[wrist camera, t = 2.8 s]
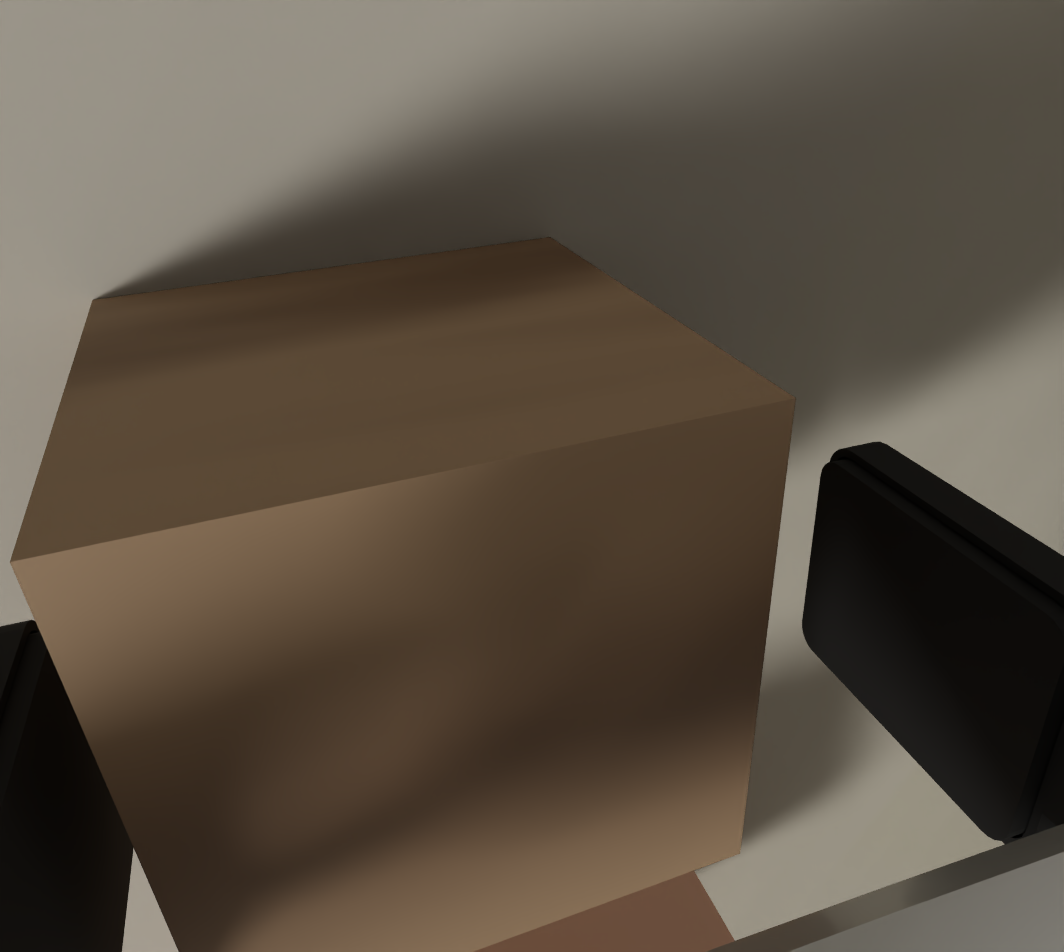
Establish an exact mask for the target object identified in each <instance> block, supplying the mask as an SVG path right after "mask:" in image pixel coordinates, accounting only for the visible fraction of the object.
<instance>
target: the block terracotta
mask: <svg viewBox="0 0 1064 952" xmlns="http://www.w3.org/2000/svg"><path fill="white" fill-rule="evenodd" d="M734 941H735V940H734V939H733V937H732V935H731V934H730V932H729V930H728V928H727V927H726V925H725V923H724V922H723V920H722V918H721V916H720V915H719V913H718V911H717V910H716V908H715V906H714V904H713V903H712V901H711V899H710V897H709V896H708V894H707V892H706V891H705V889H704V887H703V885H702V884H701V882H700V880H699V879H698V877H697V875H696V873H695V872H694V871H691V872H688V873H685V874H683V875H680V876H677V877H675V878H672V879H669V880H666V881H664V882H661V883H658V884H656V885H653V886H650V887H647V888H645V889H642V890H639V891H637V892H634V893H631V894H628V895H626V896H623V897H620V898H618V899H615V900H612V901H609V902H607V903H604V904H601V905H599V906H596V907H593V908H590V909H588V910H585V911H582V912H579V913H577V914H574V915H571V916H569V917H566V918H563V919H560V920H558V921H555V922H552V923H550V924H547V925H544V926H541V927H539V928H536V929H533V930H531V931H528V932H525V933H522V934H520V935H517V936H514V937H512V938H509V939H506V940H503V941H501V942H498V943H495V944H493V945H490V946H487V947H484V948H482V949H479V950H476V951H474V952H706V951H709V950H712V949H714V948H717V947H720V946H723V945H725V944H728V943H731V942H734Z"/></svg>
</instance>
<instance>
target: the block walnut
mask: <svg viewBox="0 0 1064 952" xmlns="http://www.w3.org/2000/svg"><path fill="white" fill-rule="evenodd" d="M795 400H796V398H795V397H793V396H792V395H790V394H789V393H787V392H786V391H784V390H783V389H781V388H779V387H778V386H776V385H775V384H773V383H772V382H770V381H769V380H767V379H766V378H764V377H763V376H761V375H760V374H758V373H757V372H755V371H754V370H752V369H750V368H749V367H747V366H746V365H744V364H743V363H741V362H740V361H738V360H737V359H735V358H734V357H732V356H731V355H729V354H728V353H726V352H725V351H723V350H721V349H720V348H718V347H717V346H715V345H714V344H712V343H711V342H709V341H708V340H706V339H705V338H703V337H702V336H700V335H699V334H697V333H696V332H694V331H692V330H691V329H689V328H688V327H686V326H685V325H683V324H682V323H680V322H679V321H677V320H676V319H674V318H673V317H671V316H670V315H668V314H667V313H665V312H663V311H662V310H660V309H659V308H657V307H656V306H654V305H653V304H651V303H650V302H648V301H647V300H645V299H644V298H642V297H641V296H639V295H638V294H636V293H634V292H633V291H631V290H630V289H628V288H627V287H625V286H624V285H622V284H621V283H619V282H618V281H616V280H615V279H613V278H612V277H610V276H609V275H607V274H605V273H604V272H602V271H601V270H599V269H598V268H596V267H595V266H593V265H592V264H590V263H589V262H587V261H586V260H584V259H583V258H581V257H580V256H578V255H576V254H575V253H573V252H572V251H570V250H569V249H567V248H566V247H564V246H563V245H561V244H560V243H558V242H557V241H555V240H554V239H552V238H551V237H547V238H540V239H532V240H525V241H518V242H511V243H503V244H496V245H489V246H481V247H474V248H467V249H460V250H452V251H445V252H438V253H431V254H423V255H416V256H409V257H401V258H394V259H387V260H380V261H372V262H365V263H358V264H350V265H343V266H336V267H329V268H321V269H314V270H307V271H300V272H292V273H285V274H278V275H270V276H263V277H256V278H249V279H241V280H234V281H227V282H220V283H212V284H205V285H198V286H190V287H183V288H176V289H169V290H161V291H154V292H147V293H139V294H132V295H125V296H118V297H110V298H103V299H96V300H93V301H92V304H91V307H90V310H89V313H88V316H87V320H86V323H85V326H84V329H83V332H82V335H81V339H80V342H79V345H78V348H77V351H76V354H75V358H74V361H73V364H72V367H71V370H70V373H69V377H68V380H67V383H66V386H65V389H64V392H63V396H62V399H61V402H60V405H59V408H58V411H57V415H56V418H55V421H54V424H53V427H52V430H51V434H50V437H49V440H48V443H47V446H46V449H45V453H44V456H43V459H42V462H41V465H40V468H39V472H38V475H37V478H36V481H35V484H34V488H33V491H32V494H31V497H30V500H29V503H28V507H27V510H26V513H25V516H24V519H23V522H22V526H21V529H20V532H19V535H18V538H17V541H16V545H15V548H14V551H13V554H12V557H11V560H10V563H11V566H12V568H13V570H14V573H15V575H16V577H17V580H18V582H19V584H20V587H21V589H22V591H23V593H24V596H25V598H26V600H27V603H28V605H29V607H30V610H31V612H32V614H33V616H34V619H35V621H36V623H37V626H38V628H39V630H40V633H41V635H42V637H43V640H44V642H45V644H46V646H47V649H48V651H49V653H50V656H51V658H52V660H53V663H54V665H55V667H56V670H57V672H58V674H59V676H60V679H61V681H62V683H63V686H64V688H65V690H66V693H67V695H68V697H69V699H70V702H71V704H72V706H73V709H74V711H75V713H76V716H77V718H78V720H79V723H80V725H81V727H82V729H83V732H84V734H85V736H86V739H87V741H88V743H89V746H90V748H91V750H92V753H93V755H94V757H95V759H96V762H97V764H98V766H99V769H100V771H101V773H102V776H103V778H104V780H105V782H106V785H107V787H108V789H109V792H110V794H111V796H112V799H113V801H114V803H115V806H116V808H117V810H118V812H119V815H120V817H121V819H122V822H123V824H124V826H125V829H126V831H127V833H128V836H129V838H130V840H131V842H132V845H133V847H134V849H135V852H136V854H137V856H138V859H139V861H140V863H141V866H142V868H143V870H144V872H145V875H146V877H147V879H148V882H149V884H150V886H151V889H152V891H153V893H154V895H155V898H156V900H157V902H158V905H159V907H160V909H161V912H162V914H163V916H164V919H165V921H166V923H167V925H168V928H169V930H170V932H171V935H172V937H173V939H174V942H175V944H176V946H177V949H178V951H179V952H474V951H476V950H479V949H482V948H484V947H487V946H490V945H493V944H495V943H498V942H501V941H503V940H506V939H509V938H512V937H514V936H517V935H520V934H522V933H525V932H528V931H531V930H533V929H536V928H539V927H541V926H544V925H547V924H550V923H552V922H555V921H558V920H560V919H563V918H566V917H569V916H571V915H574V914H577V913H579V912H582V911H585V910H588V909H590V908H593V907H596V906H599V905H601V904H604V903H607V902H609V901H612V900H615V899H618V898H620V897H623V896H626V895H628V894H631V893H634V892H637V891H639V890H642V889H645V888H647V887H650V886H653V885H656V884H658V883H661V882H664V881H666V880H669V879H672V878H675V877H677V876H680V875H683V874H685V873H688V872H691V871H694V870H696V869H699V868H702V867H704V866H707V865H710V864H713V863H715V862H718V861H721V860H724V859H726V858H729V857H732V856H734V855H737V854H740V849H741V841H742V833H743V824H744V816H745V808H746V800H747V792H748V784H749V775H750V767H751V759H752V751H753V743H754V735H755V726H756V718H757V710H758V702H759V694H760V686H761V677H762V669H763V661H764V653H765V645H766V637H767V628H768V620H769V612H770V604H771V596H772V588H773V579H774V571H775V563H776V555H777V547H778V539H779V531H780V522H781V514H782V506H783V498H784V490H785V482H786V473H787V465H788V457H789V449H790V441H791V433H792V424H793V416H794V408H795Z"/></svg>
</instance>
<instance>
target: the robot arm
mask: <svg viewBox="0 0 1064 952" xmlns="http://www.w3.org/2000/svg"><path fill="white" fill-rule="evenodd" d="M802 629H803V634H804V637H805V640H806V642H807V644H808V646H809V647H810V648H811V650H812V651H813V652H814V653H815V654H816V655H817V656H818V657H819V658H820V659H821V660H822V662H823V663H824V664H825V665H826V666H827V667H828V668H829V669H830V670H831V671H832V672H833V673H834V674H835V675H836V676H837V677H838V679H839V680H840V681H841V682H842V683H843V684H844V685H845V686H846V687H847V688H848V689H849V690H850V691H851V692H852V693H853V695H854V696H855V697H856V698H857V699H858V700H859V701H860V702H861V703H862V704H863V705H864V706H865V707H866V708H867V709H868V710H869V712H870V713H871V714H872V715H873V716H874V717H875V718H876V719H877V720H878V721H879V722H880V723H881V724H882V725H883V726H884V727H885V729H886V730H887V731H888V732H889V733H890V734H891V735H892V736H893V737H894V738H895V739H896V740H897V741H898V742H899V743H900V745H901V746H902V747H903V748H904V749H905V750H906V751H907V752H908V753H909V754H910V755H911V756H912V757H913V758H914V759H915V760H916V762H917V763H918V764H919V765H920V766H921V767H922V768H923V769H924V770H925V771H926V772H927V773H928V774H929V775H930V776H931V777H932V779H933V780H934V781H935V782H936V783H937V784H938V785H939V786H940V787H941V788H942V789H943V790H944V791H945V792H946V793H947V795H948V796H949V797H950V798H951V799H952V800H953V801H954V802H955V803H956V804H957V805H958V806H959V807H960V808H961V809H962V810H963V812H964V813H965V814H966V815H967V816H968V817H969V818H970V819H971V820H972V821H973V822H974V823H975V824H976V825H977V826H978V827H979V829H980V830H981V831H982V832H984V833H985V834H986V835H987V836H988V837H990V838H992V839H994V840H999V841H1002V842H1003V843H1004V844H1005V845H1002V846H999V847H996V848H994V849H991V850H988V851H985V852H982V853H980V854H977V855H974V856H971V857H968V858H965V859H963V860H960V861H957V862H954V863H951V864H948V865H946V866H943V867H940V868H937V869H934V870H932V871H929V872H926V873H923V874H920V875H917V876H915V877H912V878H909V879H906V880H903V881H900V882H898V883H895V884H892V885H889V886H886V887H884V888H881V889H878V890H875V891H873V892H870V893H867V894H864V895H861V896H859V897H856V898H853V899H850V900H848V901H845V902H842V903H839V904H836V905H834V906H831V907H828V908H825V909H823V910H820V911H817V912H814V913H811V914H809V915H806V916H803V917H800V918H798V919H795V920H792V921H789V922H786V923H784V924H781V925H778V926H775V927H773V928H770V929H767V930H764V931H761V932H759V933H756V934H753V935H750V936H748V937H745V938H742V939H739V940H737V941H734V942H731V943H728V944H725V945H723V946H720V947H717V948H714V949H712V950H709V951H706V952H1064V556H1062V555H1061V554H1059V553H1058V552H1056V551H1054V550H1053V549H1051V548H1050V547H1048V546H1046V545H1045V544H1043V543H1042V542H1040V541H1039V540H1037V539H1035V538H1034V537H1032V536H1031V535H1029V534H1027V533H1026V532H1024V531H1023V530H1021V529H1020V528H1018V527H1016V526H1015V525H1013V524H1012V523H1010V522H1009V521H1007V520H1005V519H1004V518H1002V517H1001V516H999V515H997V514H996V513H994V512H993V511H991V510H990V509H988V508H986V507H985V506H983V505H982V504H980V503H978V502H977V501H975V500H974V499H972V498H971V497H969V496H967V495H966V494H964V493H963V492H961V491H959V490H958V489H956V488H955V487H953V486H952V485H950V484H948V483H947V482H945V481H944V480H942V479H940V478H939V477H937V476H936V475H934V474H933V473H931V472H929V471H928V470H926V469H925V468H923V467H921V466H920V465H918V464H917V463H915V462H914V461H912V460H910V459H909V458H907V457H906V456H904V455H903V454H901V453H899V452H898V451H896V450H895V449H893V448H891V447H890V446H888V445H887V444H884V443H882V442H871V443H867V444H862V445H857V446H852V447H848V448H843V449H839V450H838V451H836V452H834V454H833V456H832V457H831V459H830V462H829V463H827V464H826V465H825V466H824V467H823V469H822V472H821V477H820V485H819V493H818V501H817V509H816V517H815V525H814V532H813V540H812V548H811V556H810V564H809V572H808V580H807V588H806V595H805V603H804V611H803V619H802ZM132 856H133V845H132V842H131V840H130V838H129V836H128V833H127V831H126V829H125V826H124V824H123V822H122V819H121V817H120V815H119V812H118V810H117V808H116V806H115V803H114V801H113V799H112V796H111V794H110V792H109V789H108V787H107V785H106V782H105V780H104V778H103V776H102V773H101V771H100V769H99V766H98V764H97V762H96V759H95V757H94V755H93V753H92V750H91V748H90V746H89V743H88V741H87V739H86V736H85V734H84V732H83V729H82V727H81V725H80V723H79V720H78V718H77V716H76V713H75V711H74V709H73V706H72V704H71V702H70V699H69V697H68V695H67V693H66V690H65V688H64V686H63V683H62V681H61V679H60V676H59V674H58V672H57V670H56V667H55V665H54V663H53V660H52V658H51V656H50V653H49V651H48V649H47V646H46V644H45V642H44V640H43V637H42V635H41V633H40V630H39V628H38V626H37V623H36V621H33V620H29V621H24V622H20V623H15V624H10V625H5V626H1V627H0V952H122V945H123V936H124V927H125V918H126V909H127V901H128V892H129V883H130V874H131V865H132Z"/></svg>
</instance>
